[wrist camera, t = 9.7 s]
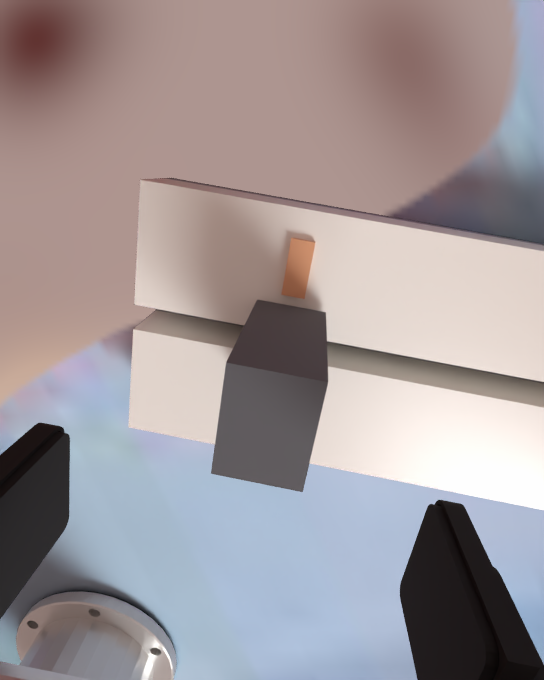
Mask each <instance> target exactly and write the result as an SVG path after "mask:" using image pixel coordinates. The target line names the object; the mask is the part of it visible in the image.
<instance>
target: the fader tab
mask: <svg viewBox="0 0 544 680" xmlns="http://www.w3.org/2000/svg"><path fill="white" fill-rule="evenodd" d="M327 386H328V358H327V329H326V312H322V311H317V310H311V309H306V308H301V307H295V306H290V305H284V304H279V303H274V302H268V301H263V300H258V299H257V301H256V303H255V305H254V307H253V309H252V311H251V313H250V315H249V317H248V319H247V321H246V323H245V325H244V327H243V329H242V331H241V333H240V335H239V337H238V339H237V341H236V343H235V345H234V347H233V349H232V352H231V354H230V356H229V358H228V360H227V362H226V367H225V374H224V382H223V389H222V396H221V404H220V411H219V419H218V426H217V433H216V441H215V448H214V456H213V463H212V471H211V474H216V475H221V476H226V477H231V478H236V479H241V480H246V481H251V482H256V483H261V484H266V485H270V486H275V487H280V488H285V489H290V490H295V491H300V492H303V488H304V484H305V479H306V475H307V471H308V467H309V462H310V458H311V454H312V450H313V445H314V441H315V437H316V433H317V428H318V424H319V420H320V415H321V411H322V407H323V403H324V398H325V394H326V390H327Z"/></svg>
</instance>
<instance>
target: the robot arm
mask: <svg viewBox="0 0 544 680" xmlns="http://www.w3.org/2000/svg"><path fill="white" fill-rule="evenodd" d="M69 461H70V438H69V435H68V434H66V433H64V429H63V428H62V427H61V426H55V425H50V424H45V423H38V424H36V425H35V426H34V427H32V428H31V429H30V430H29V431H28V432H27V433H25V434H24V435H23V436H22V437H21V438H20V439H18V440H17V441H16V442H15V443H14V444H13V445H12V446H10V447H9V448H8V449H7V450H6V451H5V452H3V453H2V454H1V455H0V619H1V617H2V616H3V615H4V613H5V612H6V610H7V609H8V608H9V606H10V605H11V603H12V602H13V601H14V599H15V598H16V597H17V595H18V594H19V592H20V591H21V590H22V588H23V587H24V585H25V584H26V583H27V581H28V580H29V578H30V577H31V576H32V574H33V573H34V572H35V570H36V569H37V567H38V566H39V565H40V563H41V562H42V560H43V559H44V558H45V556H46V555H47V553H48V552H49V551H50V549H51V548H52V547H53V545H54V544H55V542H56V541H57V540H58V538H59V537H60V535H61V534H62V533H63V531H64V530H65V528H66V526H67V523H68V519H69ZM400 599H401V604H402V608H403V613H404V618H405V622H406V627H407V632H408V636H409V641H410V646H411V651H412V655H413V660H414V665H415V669H416V674H417V679H418V680H544V665H543V662H542V660H541V658H540V656H539V654H538V652H537V650H536V648H535V646H534V644H533V642H532V640H531V638H530V635H529V633H528V631H527V629H526V627H525V625H524V623H523V621H522V619H521V617H520V615H519V613H518V611H517V608H516V606H515V604H514V602H513V600H512V598H511V596H510V594H509V592H508V590H507V588H506V586H505V584H504V581H503V579H502V577H501V575H500V574H499V572H498V571H497V569H495V568H494V567H493V566H492V564H491V562H490V560H489V558H488V556H487V554H486V552H485V549H484V547H483V545H482V543H481V541H480V539H479V537H478V535H477V533H476V530H475V528H474V526H473V524H472V522H471V520H470V518H469V516H468V513H467V511H466V509H465V507H464V506H463V505H462V504H459V503H454V502H448V501H443V500H438V501H437V502H436V503H435V505H433V504H430V505H429V506H428V508H427V510H426V513H425V516H424V519H423V521H422V524H421V527H420V530H419V533H418V536H417V538H416V541H415V544H414V547H413V550H412V553H411V555H410V558H409V561H408V564H407V567H406V570H405V572H404V575H403V578H402V581H401V585H400ZM16 645H17V651H18V654H19V656H20V659H21V663H20V665H16V664H11V663H6V662H0V680H173V679H174V675H175V672H176V665H177V660H176V654H175V650H174V648H173V645H172V643H171V641H170V639H169V638H168V636H167V635H166V633H165V632H164V630H163V629H162V628H161V627H160V626H159V625H158V624H157V623H156V622H155V621H154V620H153V619H152V618H151V617H149V616H148V615H146V614H145V613H144V612H142V611H141V610H139V609H138V608H136V607H134V606H132V605H130V604H129V603H127V602H124V601H121V600H119V599H116V598H114V597H111V596H107V595H103V594H99V593H92V592H83V591H79V592H64V593H60V594H55V595H51V596H49V597H47V598H44V599H42V600H41V601H39V602H38V603H36V604H35V605H34V606H33V607H32V608H31V609H30V610H29V612H28V613H27V614H26V616H25V617H24V619H23V620H22V622H21V624H20V626H19V628H18V631H17V635H16Z"/></svg>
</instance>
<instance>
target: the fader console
mask: <svg viewBox="0 0 544 680" xmlns="http://www.w3.org/2000/svg"><path fill="white" fill-rule="evenodd" d="M257 299H258V300H263V301H268V302H274V303H279V304H284V305H290V306H295V307H301V308H306V309H311V310H317V311H322V312H326V329H327V358H328V386H327V390H326V394H325V398H324V403H323V407H322V411H321V415H320V420H319V424H318V428H317V433H316V437H315V441H314V445H313V450H312V454H311V458H310V462H309V463H310V464H315V465H320V466H325V467H330V468H335V469H340V470H345V471H350V472H355V473H360V474H365V475H370V476H375V477H380V478H385V479H390V480H395V481H400V482H405V483H410V484H415V485H420V486H425V487H430V488H435V489H440V490H445V491H450V492H455V493H460V494H465V495H470V496H475V497H480V498H485V499H491V500H496V501H501V502H506V503H511V504H516V505H521V506H526V507H531V508H536V509H541V510H544V244H541V243H536V242H530V241H524V240H519V239H513V238H507V237H502V236H496V235H490V234H485V233H479V232H473V231H468V230H462V229H457V228H451V227H445V226H440V225H434V224H428V223H423V222H417V221H411V220H406V219H400V218H394V217H389V216H383V215H378V214H372V213H366V212H360V211H355V210H348V209H344V208H338V207H332V206H327V205H321V204H315V203H309V202H304V201H298V200H293V199H287V198H282V197H276V196H270V195H265V194H259V193H253V192H247V191H242V190H236V189H230V188H225V187H219V186H214V185H208V184H202V183H197V182H191V181H186V180H180V179H174V178H162V179H161V178H160V179H143V180H140V191H139V214H138V234H137V257H136V279H135V299H134V300H135V301H134V304H135V305H139V306H144V307H149V308H154V309H156V310H155V311H154V312H153V313H152V314H150V315H149V316H148V317H147V318H146V319H145V320H143V321H142V322H141V323H140V324H139V325H137V326H136V327H135V328H134V329H133V343H132V365H131V386H130V408H129V427H130V428H135V429H140V430H145V431H150V432H155V433H160V434H165V435H170V436H175V437H180V438H185V439H190V440H195V441H200V442H205V443H210V444H215V441H216V433H217V426H218V419H219V411H220V404H221V396H222V389H223V382H224V374H225V367H226V362H227V360H228V358H229V356H230V354H231V352H232V349H233V347H234V345H235V343H236V341H237V339H238V337H239V335H240V333H241V331H242V329H243V327H244V325H245V323H246V321H247V319H248V317H249V315H250V313H251V311H252V309H253V307H254V305H255V303H256V301H257Z"/></svg>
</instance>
